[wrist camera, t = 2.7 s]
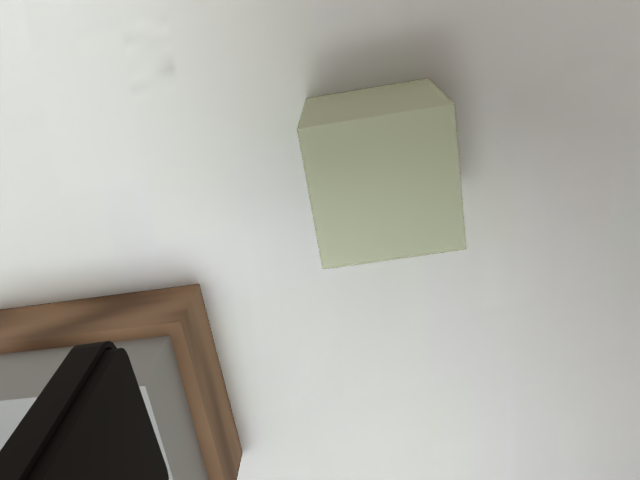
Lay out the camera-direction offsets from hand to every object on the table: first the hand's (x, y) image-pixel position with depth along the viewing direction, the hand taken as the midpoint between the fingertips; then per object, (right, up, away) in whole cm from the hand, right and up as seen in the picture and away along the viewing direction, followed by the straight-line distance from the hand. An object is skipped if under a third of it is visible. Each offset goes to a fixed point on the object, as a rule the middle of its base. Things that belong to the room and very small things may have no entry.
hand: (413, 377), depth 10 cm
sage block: (+1, +6, +16) cm, 17 cm away
